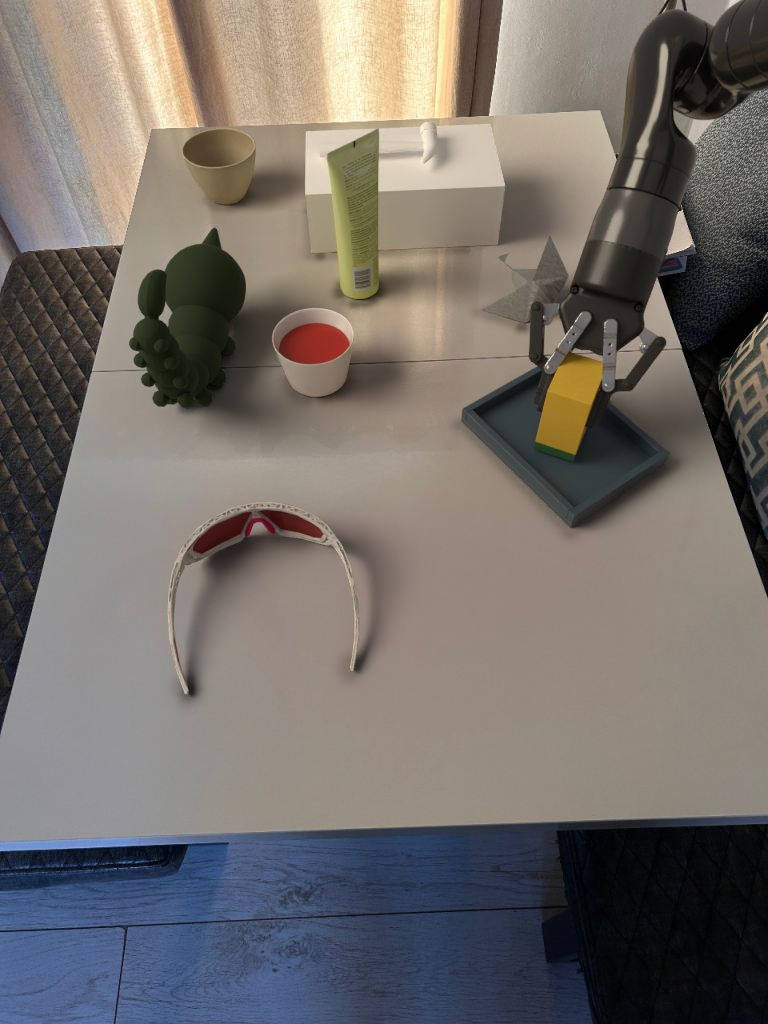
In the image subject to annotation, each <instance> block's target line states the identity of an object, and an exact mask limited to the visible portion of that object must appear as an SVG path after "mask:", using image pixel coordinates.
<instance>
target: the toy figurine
mask: <svg viewBox="0 0 768 1024" xmlns="http://www.w3.org/2000/svg"><path fill="white" fill-rule="evenodd" d="M246 281H247V280H246V277H245V273H244V272H243V270H242V267H241V266H240V265H239V263H238V261H237V260H236V259H235V258H234V257H233V256H232V255H231V254H230V253H229V252H227V251H226V250H224V249H223V247H222V243H221V240H220V235H219V230H218V229H217V228H216V227H212V228H211V229H210V230H209V232H208V234H207V235H206V237H205V238H204V239H203V241H202V243H196V244H191V245H187V246H186V247H184V248H182V249H180V250H179V251H178V252H176V253H175V254H174V255H173V257H172V258H170V259H169V261H168V263H167V264H166V267H165V270H162V269H158V268H157V269H153V270H151V271H149V272H147V273H146V275H145V276H144V277H143V278H142V280H141V283H140V285H139V288H138V293H137V307H138V309H139V312H140V313H141V314H142V315H143V318H142V319H140V320H139V321H138V322H137V323H136V324H135V326H134V327H133V332H132V337H131V338H130V339H129V341H128V346H129V348H130V349H131V350H132V351H135V352H138V353H136V354H135V355H134V357H133V359H132V360H133V364H134V365H135V366H136V367H137V368H140V369H146V371H147V372H144V373H143V374H142V375H141V378H140V382H141V384H142V385H143V386H144V387H146V388H147V387H148V388H151V387H154V386H155V388H156V389H157V391H155V392H153V394H152V398H151V400H152V402H153V404H154V405H155V406H157V407H159V408H165V407H166V406H167V405H172V406H173V405H177V404H178V405H179V406H180V407H181V408H182V409H189V408H191V407H193V406H194V404H195V403H196V405H198V406H200V407H205V408H207V407H210V405H212V403H213V402H214V401H213V400H214V394H213V392H212V391H211V390H209V389H208V388H207V387H208V385H210V384H211V385H213V386H216V387H220V386H223V385H224V384H225V383H226V382H227V378H228V377H227V376H228V375H227V373H226V371H225V369H224V368H222V363H223V362H222V358H223V357H224V358H230V357H233V355H234V353H235V352H236V349H237V345H236V344H237V343H236V340H234V338H233V337H231V336H230V329H229V328H230V327H229V323H231V322H232V321H233V320H235V318H236V317H238V315H239V314H240V312H241V310H242V309H243V306H244V303H245V300H246V295H247V294H246V293H247V282H246ZM166 306H167V307H168V309H169V310H170V312H171V314H170V316H169V319H168V325H167V324H166V323H165V322H164V321H163V320H162V319H160V317H161V316H162V314H163V313H164V310H165V308H166Z"/></svg>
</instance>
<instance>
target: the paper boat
mask: <svg viewBox="0 0 768 1024" xmlns="http://www.w3.org/2000/svg"><path fill="white" fill-rule="evenodd" d="M509 254H510V252H507V253H504V254H501V255H499V256H497V259H498V260H500V261H501V262H502V263H503V264H505V265H506V267H508V268H509V269H510V270H511V274H512V282H513V291H512V292H510V293H509V294H506V295H505V296H503V297H501V298H500V299H498V300H496V301H495V302H493V303H492V304H490V305H488V306H486V307H485V308H483V309H482V311H484V312H487V313H490V314H494V315H497V316H500V317H503V318H507V319H510V320H514V321H517V322H520V323H523V324H526V323H528V322H530V316H531V305H532V304H533V303H534V302H536V301H539V302H541V303H542V304H549V303H556V301H557V299H558V297H559V296H560V294H561V292H562V290H564V287H565V286H566V283H567V280H568V278H569V273H568V270H567V269H566V266H565V264H564V262H563V260H562V258H561V255H560V253H559V251H558V249H557V247H556V245H555V242H554V240H553V238H552V236H551V234H549V235H548V238H547V240H546V243H545V245H544V248H543V251H542V254H541V257H540V259H539V262H538V265H537V267H536V268H512V267H511V266H510V265H509V264H507V262H506V260H507V258H508V257H509Z"/></svg>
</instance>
